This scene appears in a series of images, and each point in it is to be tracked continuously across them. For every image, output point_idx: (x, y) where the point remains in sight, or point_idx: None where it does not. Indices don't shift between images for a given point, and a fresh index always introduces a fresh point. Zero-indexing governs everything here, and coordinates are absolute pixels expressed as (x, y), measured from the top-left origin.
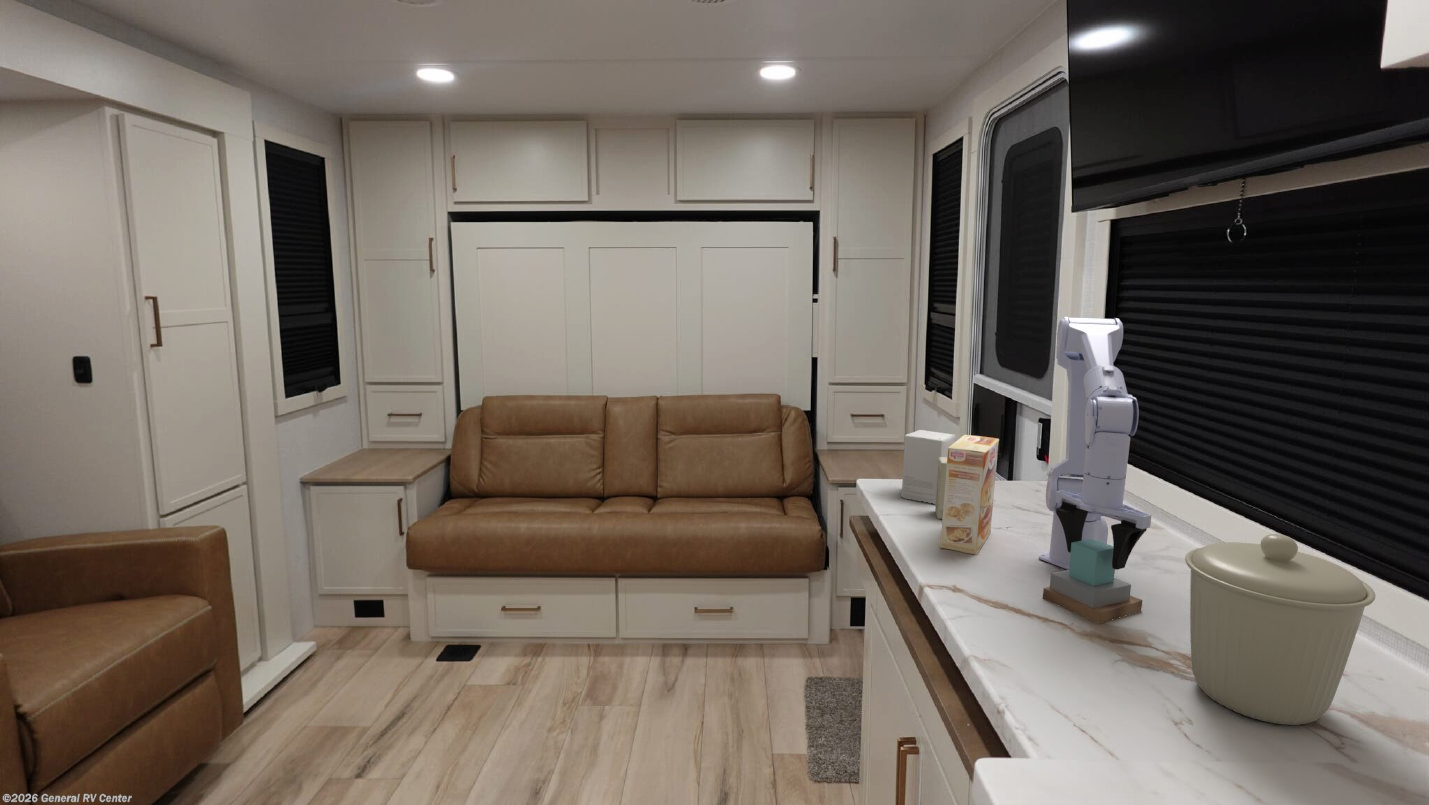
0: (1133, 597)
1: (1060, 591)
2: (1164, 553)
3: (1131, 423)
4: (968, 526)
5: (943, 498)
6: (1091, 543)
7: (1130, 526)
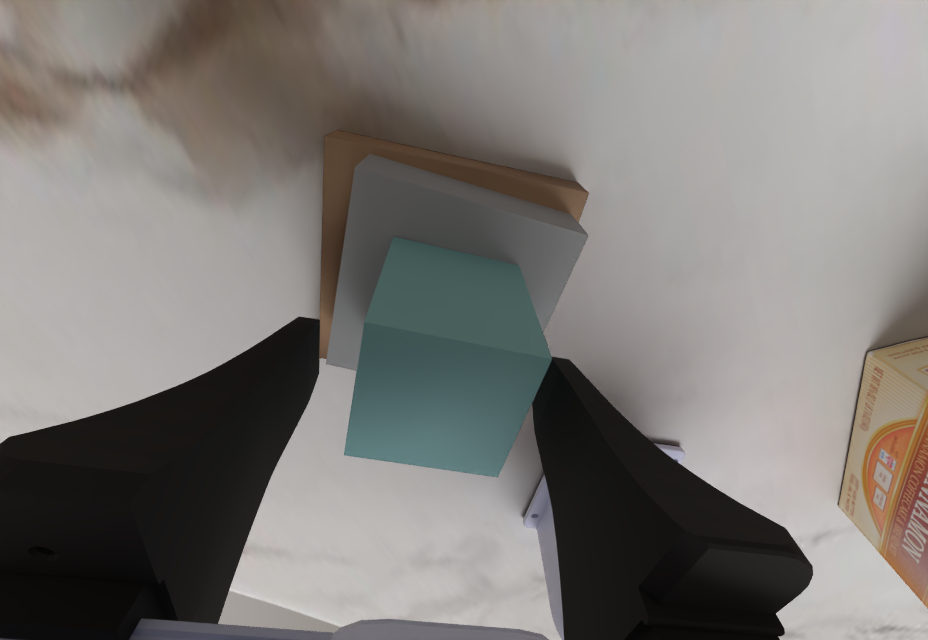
0: None
1: (522, 200)
2: (468, 615)
3: None
4: None
5: None
6: (461, 420)
7: (20, 578)
